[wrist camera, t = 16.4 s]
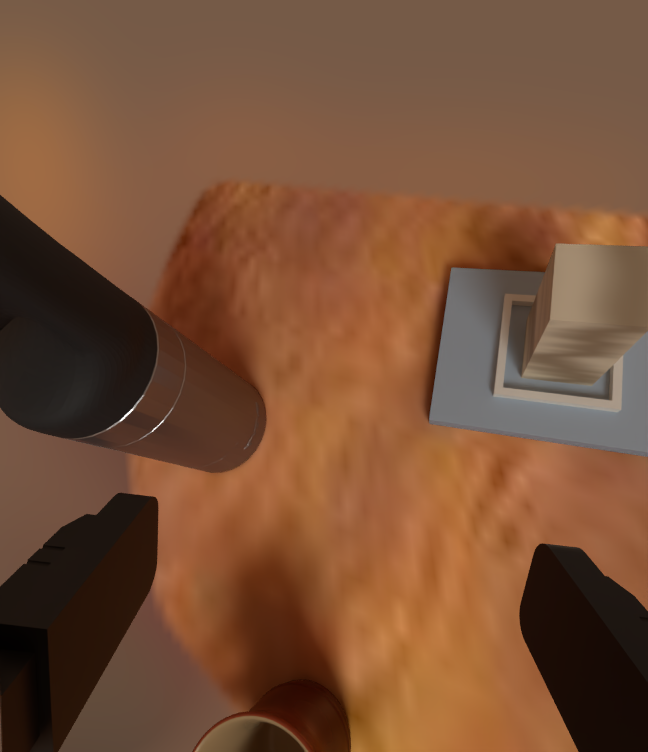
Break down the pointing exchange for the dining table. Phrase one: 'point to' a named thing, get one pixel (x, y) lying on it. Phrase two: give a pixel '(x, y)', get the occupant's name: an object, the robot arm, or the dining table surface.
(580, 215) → the dining table surface
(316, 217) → the dining table surface
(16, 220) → the robot arm
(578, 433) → the board
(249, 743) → the mug
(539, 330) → the pillar
